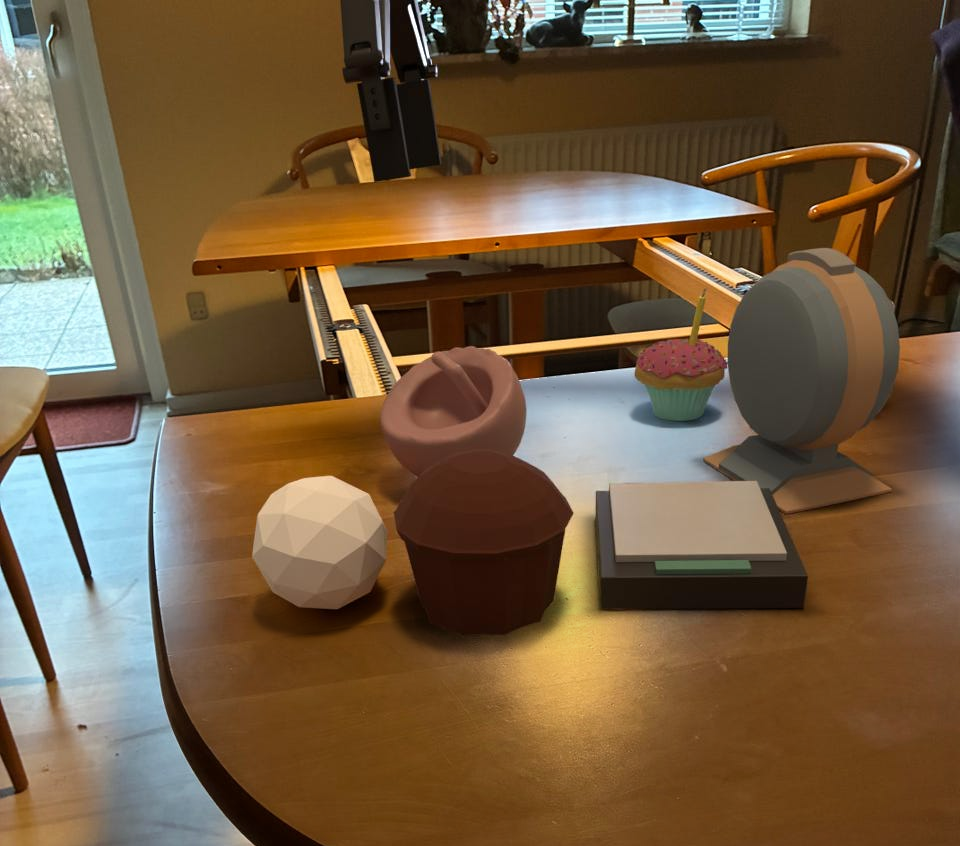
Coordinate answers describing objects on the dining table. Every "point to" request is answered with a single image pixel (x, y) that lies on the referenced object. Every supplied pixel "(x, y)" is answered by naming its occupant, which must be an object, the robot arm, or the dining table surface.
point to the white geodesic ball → (320, 542)
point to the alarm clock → (809, 378)
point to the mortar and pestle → (454, 408)
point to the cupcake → (681, 373)
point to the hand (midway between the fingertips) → (410, 173)
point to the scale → (695, 547)
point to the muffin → (483, 541)
